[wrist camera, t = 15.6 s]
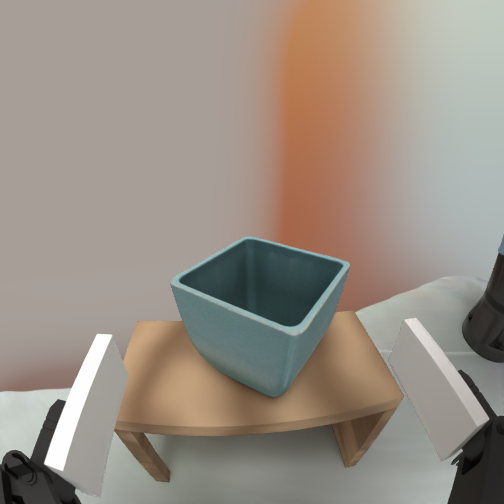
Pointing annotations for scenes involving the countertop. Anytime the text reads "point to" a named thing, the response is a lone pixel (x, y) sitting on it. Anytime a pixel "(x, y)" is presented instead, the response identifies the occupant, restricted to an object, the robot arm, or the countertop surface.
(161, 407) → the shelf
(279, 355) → the flower pot
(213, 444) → the countertop surface
